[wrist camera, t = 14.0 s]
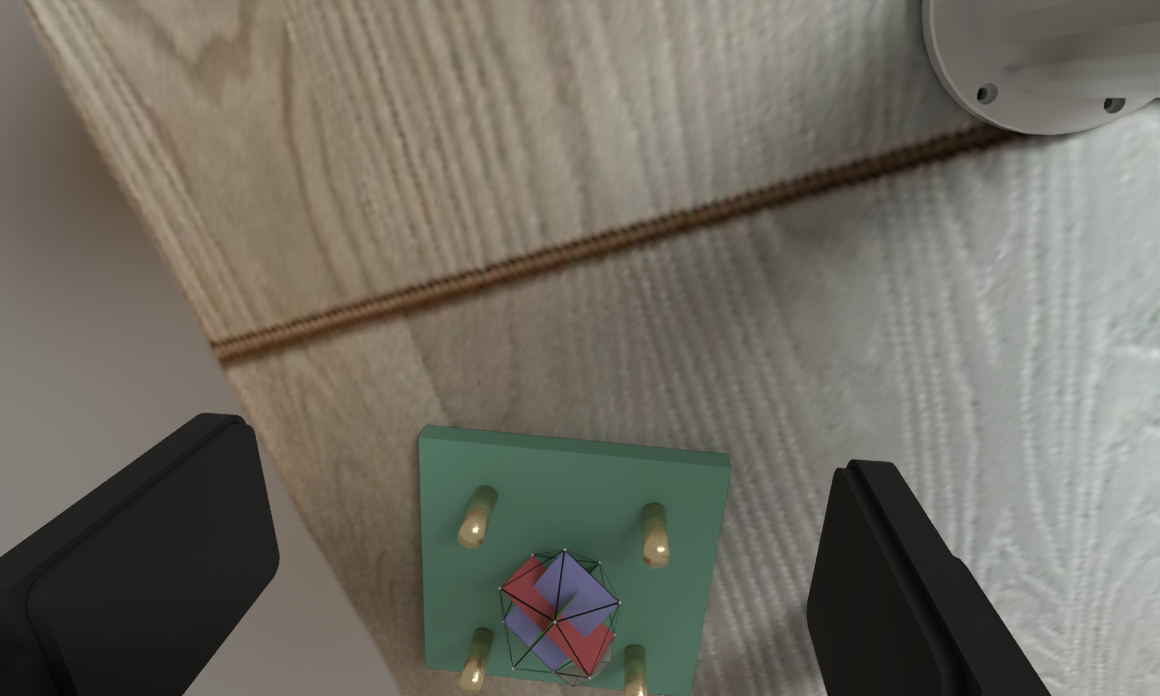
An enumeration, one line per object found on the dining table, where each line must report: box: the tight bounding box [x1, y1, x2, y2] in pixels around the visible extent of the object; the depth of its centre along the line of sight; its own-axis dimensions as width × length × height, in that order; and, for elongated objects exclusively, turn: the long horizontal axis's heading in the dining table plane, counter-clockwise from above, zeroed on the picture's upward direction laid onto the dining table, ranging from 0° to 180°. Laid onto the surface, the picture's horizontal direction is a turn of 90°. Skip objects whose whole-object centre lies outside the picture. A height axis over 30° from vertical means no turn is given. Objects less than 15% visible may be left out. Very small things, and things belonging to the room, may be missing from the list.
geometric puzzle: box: [499, 548, 621, 686], centre depth 36 cm, size 7×7×8 cm
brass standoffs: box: [457, 485, 670, 696], centre depth 38 cm, size 11×12×4 cm
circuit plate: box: [418, 425, 732, 696], centre depth 40 cm, size 18×18×2 cm
